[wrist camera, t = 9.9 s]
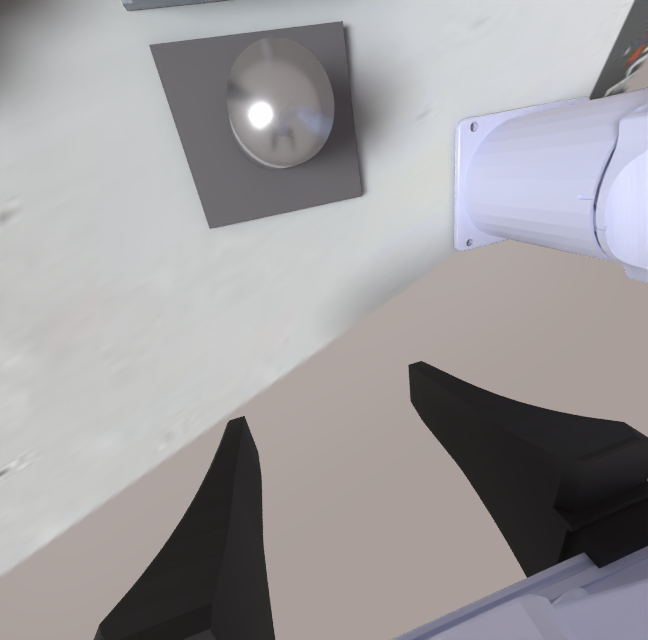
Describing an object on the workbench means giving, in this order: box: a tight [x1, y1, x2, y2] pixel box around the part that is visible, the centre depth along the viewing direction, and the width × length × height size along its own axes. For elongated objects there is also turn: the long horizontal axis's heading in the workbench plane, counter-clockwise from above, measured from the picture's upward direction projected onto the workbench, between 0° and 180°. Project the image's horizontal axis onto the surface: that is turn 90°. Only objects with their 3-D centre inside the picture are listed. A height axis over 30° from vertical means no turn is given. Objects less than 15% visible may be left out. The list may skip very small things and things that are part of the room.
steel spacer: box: [226, 37, 334, 170], centre depth 14 cm, size 4×4×5 cm
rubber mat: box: [149, 21, 362, 229], centre depth 16 cm, size 9×8×1 cm
